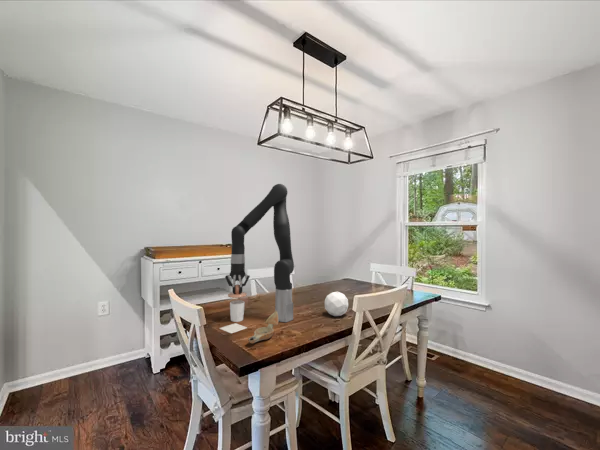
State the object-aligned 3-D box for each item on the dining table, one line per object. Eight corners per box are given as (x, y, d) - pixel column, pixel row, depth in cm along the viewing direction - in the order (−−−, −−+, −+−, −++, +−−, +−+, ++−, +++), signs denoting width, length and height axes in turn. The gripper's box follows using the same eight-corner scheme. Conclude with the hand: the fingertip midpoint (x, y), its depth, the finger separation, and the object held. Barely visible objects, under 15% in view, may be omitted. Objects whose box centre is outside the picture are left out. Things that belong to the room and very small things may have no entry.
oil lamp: (283, 332, 135) (283, 312, 135) (257, 349, 117) (257, 325, 117) (268, 329, 139) (269, 309, 140) (241, 345, 121) (241, 322, 121)
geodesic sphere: (332, 299, 176) (327, 283, 168) (354, 302, 168) (349, 286, 161) (324, 318, 165) (317, 303, 158) (347, 323, 158) (341, 307, 151)
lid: (250, 295, 153) (250, 284, 153) (235, 298, 145) (235, 287, 145) (239, 292, 159) (239, 282, 159) (224, 295, 152) (224, 284, 152)
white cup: (238, 317, 158) (238, 299, 158) (247, 320, 153) (247, 301, 153) (226, 320, 151) (226, 302, 152) (235, 323, 146) (235, 304, 146)
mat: (247, 328, 140) (247, 327, 140) (231, 334, 132) (231, 333, 132) (235, 323, 146) (235, 323, 146) (219, 329, 139) (219, 328, 139)
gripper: (251, 261, 157) (250, 292, 157) (226, 261, 155) (225, 292, 155) (250, 263, 149) (249, 295, 149) (223, 263, 148) (223, 295, 148)
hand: (237, 293), depth 152 cm, fingers closed on lid, 2 cm apart
